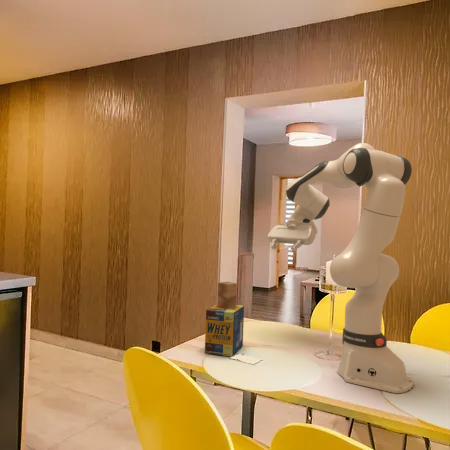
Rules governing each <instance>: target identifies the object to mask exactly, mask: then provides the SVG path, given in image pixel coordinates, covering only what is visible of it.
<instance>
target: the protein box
mask: <svg viewBox="0 0 450 450" xmlns="http://www.w3.org/2000/svg"><path fill="white" fill-rule="evenodd" d="M244 317H245V305H241V304H236V308H231V309H224V308H219V307H217V304H214V305H213V306H211V307H209V308H208V309H206V310H205V333H204V337H205V339H204V354H208V355H215V356H216V355H219V356H225V357H232V356H234V355H236V354H237V352H238V351H239V350H240V349H241V348H242V347H243V346H244V343H243V342H244V320H245V318H244Z"/></svg>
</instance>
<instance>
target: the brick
mask: <svg viewBox="0 0 450 450" xmlns="http://www.w3.org/2000/svg"><path fill="white" fill-rule="evenodd" d="M237 293H238V283H237V282H230V281H222V282H217V303H216V305H217V307H219V308H224V309H231V308H236V305H237V298H238V297H237Z"/></svg>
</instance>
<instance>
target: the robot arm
mask: <svg viewBox="0 0 450 450" xmlns="http://www.w3.org/2000/svg"><path fill="white" fill-rule="evenodd" d="M412 169H413V168H412V164H411V162H410V160H409V159H408V158H406V157H403V156H401V155H398V154H396V155H395V154H392V153H389V152H385V151H383V150H378V149H376V148H374V146H373V145H371V144H370V143H366V142H359V143H356V144H355V145H353V146H352V147H350V148H348V149H347V150H346V151H345V152H344V153H343V154H342V155H340V157H338V158H337V159H335V160H330V161H329V160H324V161H322V162H320V163H318V164H316V165H314V166H312V168H311V169H309V170H307V171H306V172H305V173H303V174H302V175H300V176H298V177H296V178H294V179H293V180H292V181H291V182H290V183H289V184H288V185H287V187H286V189H285V194H286V198H287V200H289V201H291V202H292V203H295V204H296V207H295V208H294V211H293V212H292V213H291V215H290V216H289V218H288V219H287V220H286V222H285V224H280V223H279V224H278V225H275V226H274V227H272V228H271V230H270V231H269V232H268V234H267V238H268V240H269V242H270V243H272V245H270V246H271V247H270V248H271V250H277V248H278V246H277V245H278V244H287V245H288V244H290V245H292V246H291V247H290V250H291V252H297V250H298V249H299V248H300V247H302V246H310V245H312V244H313V243H314V241H315V239H316V236H317V235H316V234H318V229H317V226H316V223H315V222H314V221H315V220H318V219H321V218H323V217H324V216H325V214H326V213H327V211H328V209H329V207H330V205H331V204H330V198H329V197H328V196H327V195H325V194H324V193H323V192H321V191H320V190H319V189H317V188H315V187H314V186H313V185H312V184H313V183H314V182H316V181H319V182H323V183H326V184H329V185H331V186H333V187H336V188H338V189H350V188H352V187H354V186H355V185H356V186H358V187H362V186H365V187H366V190H367V194H366V199H365V201H364V205H363V208H362V212H361V215H360V219H359V222H358V224H357V225H358V226H357V228H356V231H355V232H354V235H353V237H352V238H351V240H350V242H349V243H348V244H347V246H346V247H345V248H344V249H343V251H342V252H340V253H339V254H338V255H337V256H335V257H333V259H332V260H331V263H330V265H329V266H330V267H329V274H330V277H331V279H332V281H333V282H334V283H335V284H336V285H337V286H340V287H344V288H347V289H355V292H354V294H353V295H352V297H351V298H350V299H349V300H348V301H347V302H346V304H345V311H344V327H343V329H342V339H341V340H342V351H341V358H340V362H339V365H338V368H337V374H338V375H339V376H340V377H342V378H343V380H344V381H345V382H347V383H350V384H355V385H359V386H362V387H363V386H364V387H368V388H372V389H374V390H375V389H376V390H380V391H384V392H389V393H393V394H402V393H406V392H409V391H411V388H412V387H413V388H414V386H415V383H414V380H413V379H412V378H411V377H408V376H407V371H406V370H407V369H406V365H405V363H404V360H402V359H401V358H400V357H399V356H398V355H397V354H395V352H393V350H392V349H390V348H389V347H388V346H387V344H388V340H389V335H386V336H385V335H384V334H383V333H382V317H383V310H384V304H385V301H386V299H387V295H388V292H389V290H390V288H391V287H392V285H393V284H394V283H395V282H396V281H397V279H398V278H399V275H400V266H399V263H398V261H397V260H396V259H395V257H393V256H391V255H387V254H384V253H382V252H383V251H384V249H385V248H386V247H387V246H389V245H390V244H391V243H392V242H393V241H394V239H395V236H396V233H397V230H398V226H399V222H400V219H401V216H402V212H403V208H404V203H405V197H406V184H408V182H409V180H410V179H411V177H412V172H413V171H412ZM413 385H414V386H413ZM413 388H412V389H413ZM408 390H409V391H408Z"/></svg>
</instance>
